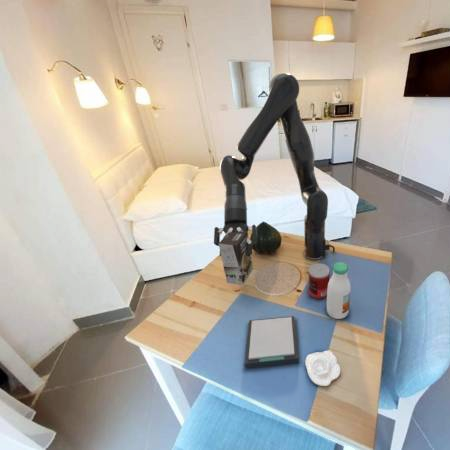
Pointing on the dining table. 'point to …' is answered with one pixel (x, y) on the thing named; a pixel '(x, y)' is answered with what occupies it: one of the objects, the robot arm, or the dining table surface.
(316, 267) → the canned food
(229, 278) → the coffee box
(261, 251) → the squash
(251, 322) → the scale
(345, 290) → the milk bottle
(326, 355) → the rose
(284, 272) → the dining table surface
